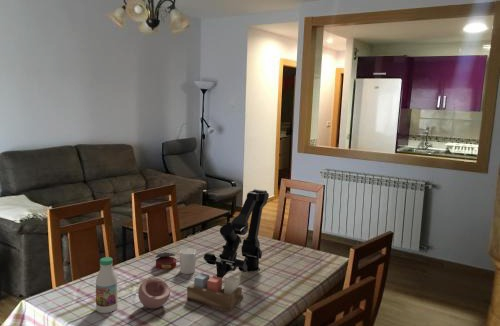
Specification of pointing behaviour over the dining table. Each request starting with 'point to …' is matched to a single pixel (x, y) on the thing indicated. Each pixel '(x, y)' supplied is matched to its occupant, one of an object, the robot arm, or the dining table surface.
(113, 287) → the milk bottle
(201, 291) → the key console
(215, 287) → the red key
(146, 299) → the pink round pot
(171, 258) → the canned food
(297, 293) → the dining table surface
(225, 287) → the white key
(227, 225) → the robot arm
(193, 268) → the white cup
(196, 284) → the grey rectangular block
